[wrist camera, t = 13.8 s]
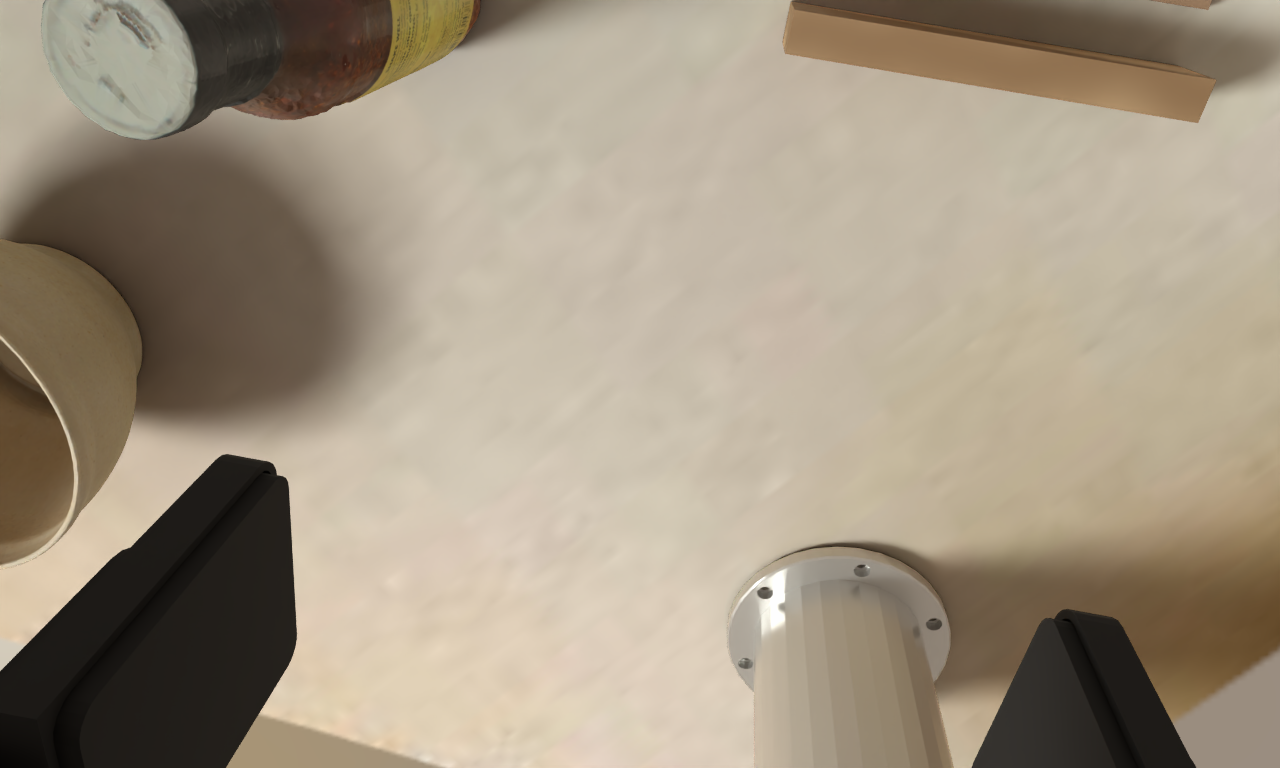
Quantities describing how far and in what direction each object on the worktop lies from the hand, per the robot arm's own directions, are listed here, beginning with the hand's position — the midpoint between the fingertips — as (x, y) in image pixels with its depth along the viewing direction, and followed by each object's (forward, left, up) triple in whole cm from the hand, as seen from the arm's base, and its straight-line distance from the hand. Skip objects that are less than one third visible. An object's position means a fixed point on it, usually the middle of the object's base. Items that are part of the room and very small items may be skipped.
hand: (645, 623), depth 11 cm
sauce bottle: (+3, +14, -32) cm, 36 cm away
